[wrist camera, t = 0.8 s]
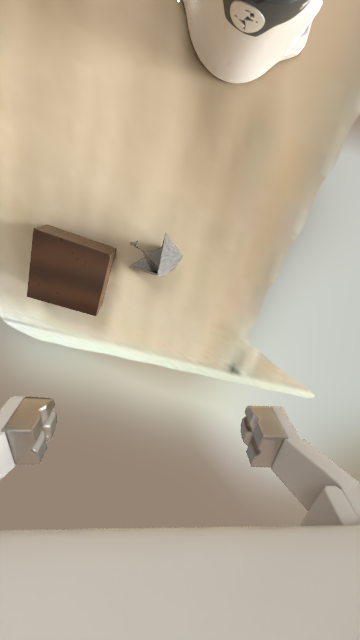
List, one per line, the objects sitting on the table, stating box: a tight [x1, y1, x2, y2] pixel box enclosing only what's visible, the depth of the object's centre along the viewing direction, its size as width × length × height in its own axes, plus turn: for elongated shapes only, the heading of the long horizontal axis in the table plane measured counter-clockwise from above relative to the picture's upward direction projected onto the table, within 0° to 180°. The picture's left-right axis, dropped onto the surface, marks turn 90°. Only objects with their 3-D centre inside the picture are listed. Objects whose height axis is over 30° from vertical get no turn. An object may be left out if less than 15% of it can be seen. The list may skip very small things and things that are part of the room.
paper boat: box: [130, 233, 182, 276], centre depth 43 cm, size 12×6×9 cm
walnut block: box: [27, 225, 116, 316], centre depth 44 cm, size 12×12×5 cm
